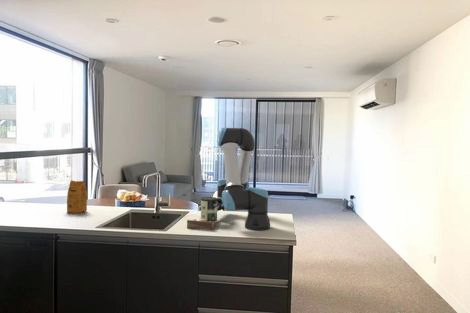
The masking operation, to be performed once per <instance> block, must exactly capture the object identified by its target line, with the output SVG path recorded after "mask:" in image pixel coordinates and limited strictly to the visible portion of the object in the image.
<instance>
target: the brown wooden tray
mask: <svg viewBox="0 0 470 313" xmlns="http://www.w3.org/2000/svg"><path fill="white" fill-rule="evenodd" d="M217 227H218V220H217V221H214V222H207V221H199V220H197V219H191V220H190V219H187V220H186V228H187V229H192V230H202V231H203V230H204V231H213V230H214V229H215V228H217Z"/></svg>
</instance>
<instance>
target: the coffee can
mask: <svg viewBox="0 0 470 313" xmlns="http://www.w3.org/2000/svg"><path fill="white" fill-rule="evenodd" d="M217 199H218V198H217V197H213V196H205V197H204V196H203V197H201V198H200V204H201V211H200V219H204V220H206V221H207V222H214V221H217V222H218V211H217V212H215V207H217Z"/></svg>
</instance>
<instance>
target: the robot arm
mask: <svg viewBox="0 0 470 313" xmlns="http://www.w3.org/2000/svg"><path fill="white" fill-rule="evenodd" d="M216 143H217V144H216V145H217V146H218V147H219V148H220V151H222V153H223V162H224V172H225V178H218V179H217V185H216V187H217V188H216V189H217V195H216V196H217V197H216V198H218V199H217V207H215V212H217V213H218V212H219V211H225V210H226V211H233V212H234V211H247V215H246V219H245V222H244V228H246V229H247V230H251V231H266V230H270V229H271V222H270V218H269V214H268V212H269V211H268V208H269V207H268V206H269V192H268V190H267V189H263V188H258V187H251V186H250V182H249V181H248V177H249V170H250V166H251V159H252V154H253V151H254V150H255V147H256V146H255V145H256V144H255V143H256V141H255V138H254V136H253V134H252V133H251V132H250V131H249V129H247V128H243V127H240V128H239V127H221V128H219V130H218V133H217V142H216ZM238 149H240V153H239V156H238ZM238 157H239V158H238ZM197 212H201V203H199V204H197Z"/></svg>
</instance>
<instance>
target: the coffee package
mask: <svg viewBox="0 0 470 313" xmlns="http://www.w3.org/2000/svg"><path fill="white" fill-rule="evenodd" d="M85 183H86V181H85V180H77V181H76V180H69V184H68V190H67V194H66V195H67V196H66V213H67V212H70V213H71V214H82V213H83V212H86V211H88V207H87V206H88V204H87V203H88V202H87V201H88V190H87V187H86V184H85Z"/></svg>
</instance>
